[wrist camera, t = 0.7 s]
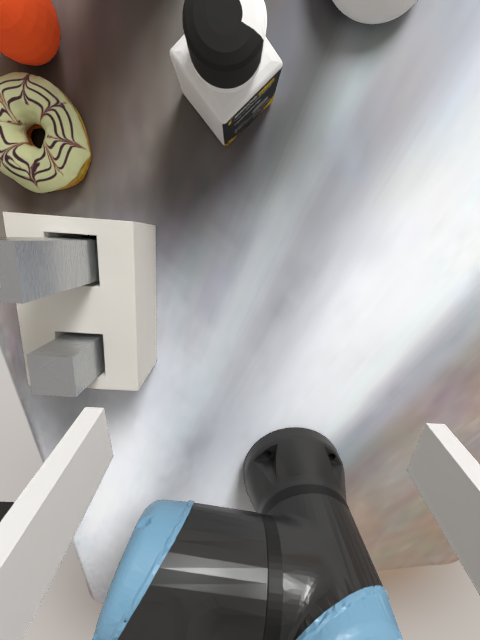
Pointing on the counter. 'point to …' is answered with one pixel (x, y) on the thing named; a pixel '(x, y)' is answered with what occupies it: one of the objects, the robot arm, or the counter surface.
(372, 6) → the flower in vase
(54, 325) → the housing
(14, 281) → the upper square grey bar
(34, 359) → the grey square peg
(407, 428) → the counter surface
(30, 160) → the decorated donut
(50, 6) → the clementine
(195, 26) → the medicine bottle
